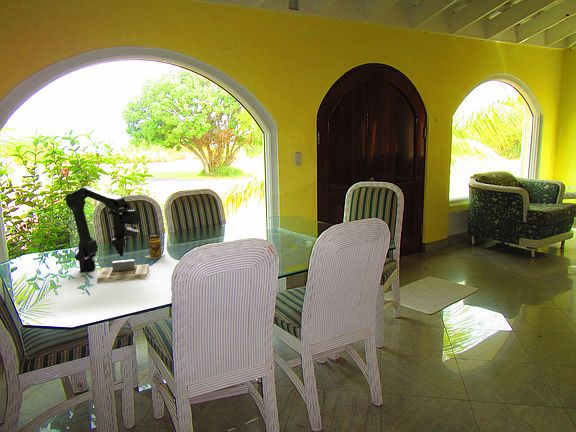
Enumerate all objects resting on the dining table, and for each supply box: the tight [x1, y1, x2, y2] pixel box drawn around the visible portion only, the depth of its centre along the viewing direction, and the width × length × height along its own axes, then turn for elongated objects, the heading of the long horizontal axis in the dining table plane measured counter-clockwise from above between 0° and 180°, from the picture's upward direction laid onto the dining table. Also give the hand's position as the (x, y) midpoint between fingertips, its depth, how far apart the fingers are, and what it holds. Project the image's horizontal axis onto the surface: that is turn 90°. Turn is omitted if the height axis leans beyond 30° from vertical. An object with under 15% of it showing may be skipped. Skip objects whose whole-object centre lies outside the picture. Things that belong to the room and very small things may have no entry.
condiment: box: [144, 233, 165, 260], centre depth 251 cm, size 7×8×12 cm
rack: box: [96, 263, 150, 283], centre depth 223 cm, size 22×15×2 cm
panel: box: [111, 259, 136, 272], centre depth 223 cm, size 10×2×7 cm, turn 103°
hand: (122, 254), depth 221 cm, fingers open, 4 cm apart
